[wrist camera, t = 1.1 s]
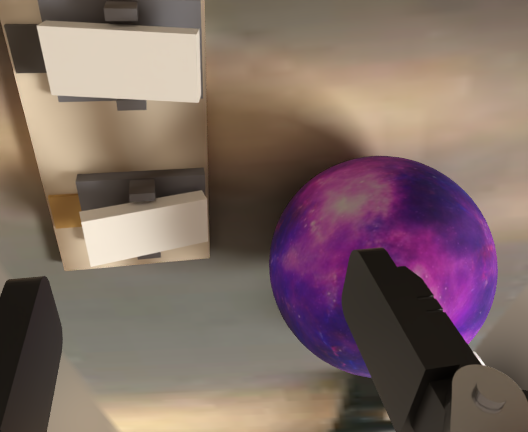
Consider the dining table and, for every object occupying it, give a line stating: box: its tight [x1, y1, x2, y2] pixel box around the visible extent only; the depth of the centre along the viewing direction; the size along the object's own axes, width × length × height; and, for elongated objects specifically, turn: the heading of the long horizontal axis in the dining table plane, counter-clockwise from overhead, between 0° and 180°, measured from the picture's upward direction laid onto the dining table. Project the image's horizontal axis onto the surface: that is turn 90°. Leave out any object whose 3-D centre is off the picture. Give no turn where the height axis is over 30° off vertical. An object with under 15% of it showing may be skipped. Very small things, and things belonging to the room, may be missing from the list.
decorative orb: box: [269, 156, 498, 378], centre depth 32 cm, size 15×15×15 cm
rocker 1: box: [37, 20, 201, 103], centre depth 25 cm, size 8×4×1 cm, turn 87°
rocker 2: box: [79, 190, 208, 267], centre depth 31 cm, size 8×4×1 cm, turn 87°
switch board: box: [0, 0, 210, 271], centre depth 26 cm, size 11×33×4 cm, turn 177°
